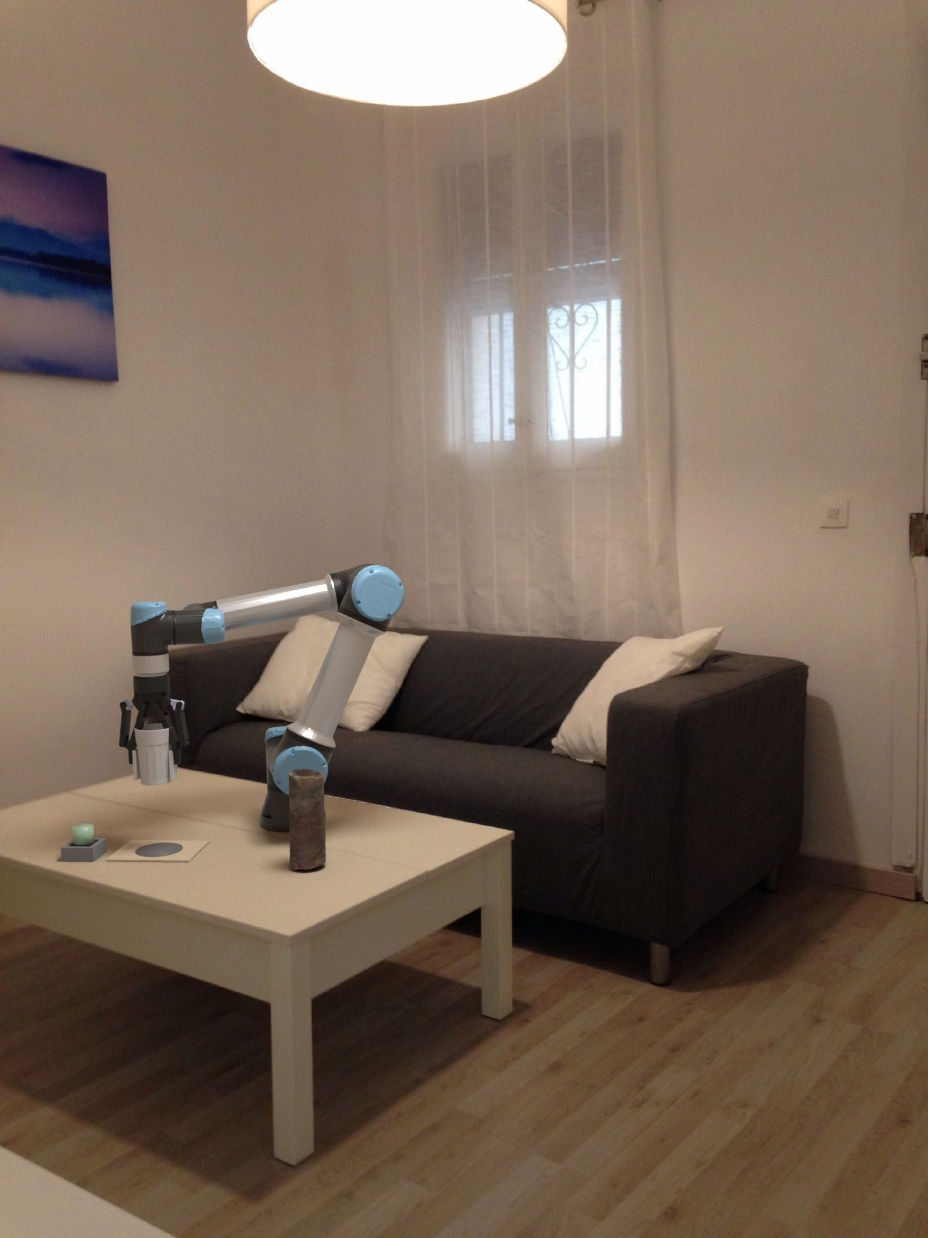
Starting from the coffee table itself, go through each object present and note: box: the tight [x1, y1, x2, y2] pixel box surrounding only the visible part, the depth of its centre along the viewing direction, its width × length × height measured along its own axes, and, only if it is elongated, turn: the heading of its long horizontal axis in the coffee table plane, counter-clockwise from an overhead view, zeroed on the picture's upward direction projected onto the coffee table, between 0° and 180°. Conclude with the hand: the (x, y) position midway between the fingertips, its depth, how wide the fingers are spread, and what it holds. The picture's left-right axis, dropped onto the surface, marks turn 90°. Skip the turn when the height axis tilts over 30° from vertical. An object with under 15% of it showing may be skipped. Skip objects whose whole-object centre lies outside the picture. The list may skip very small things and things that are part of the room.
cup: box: [133, 723, 172, 787], centre depth 240 cm, size 8×8×12 cm
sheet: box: [105, 839, 211, 863], centre depth 242 cm, size 18×14×1 cm
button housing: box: [60, 837, 108, 863], centre depth 239 cm, size 7×7×3 cm
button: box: [71, 822, 95, 845], centre depth 239 cm, size 4×4×4 cm
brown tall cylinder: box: [289, 769, 327, 871], centre depth 229 cm, size 8×7×20 cm
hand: (155, 779), depth 240 cm, fingers closed on cup, 7 cm apart
